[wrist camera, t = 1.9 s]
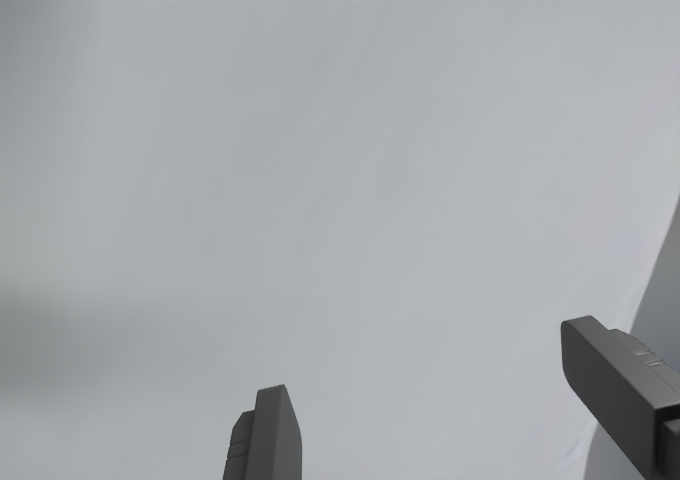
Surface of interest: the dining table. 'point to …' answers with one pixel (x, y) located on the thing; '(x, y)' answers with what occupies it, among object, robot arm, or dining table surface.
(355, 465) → the dining table surface
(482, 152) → the dining table surface
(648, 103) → the dining table surface
